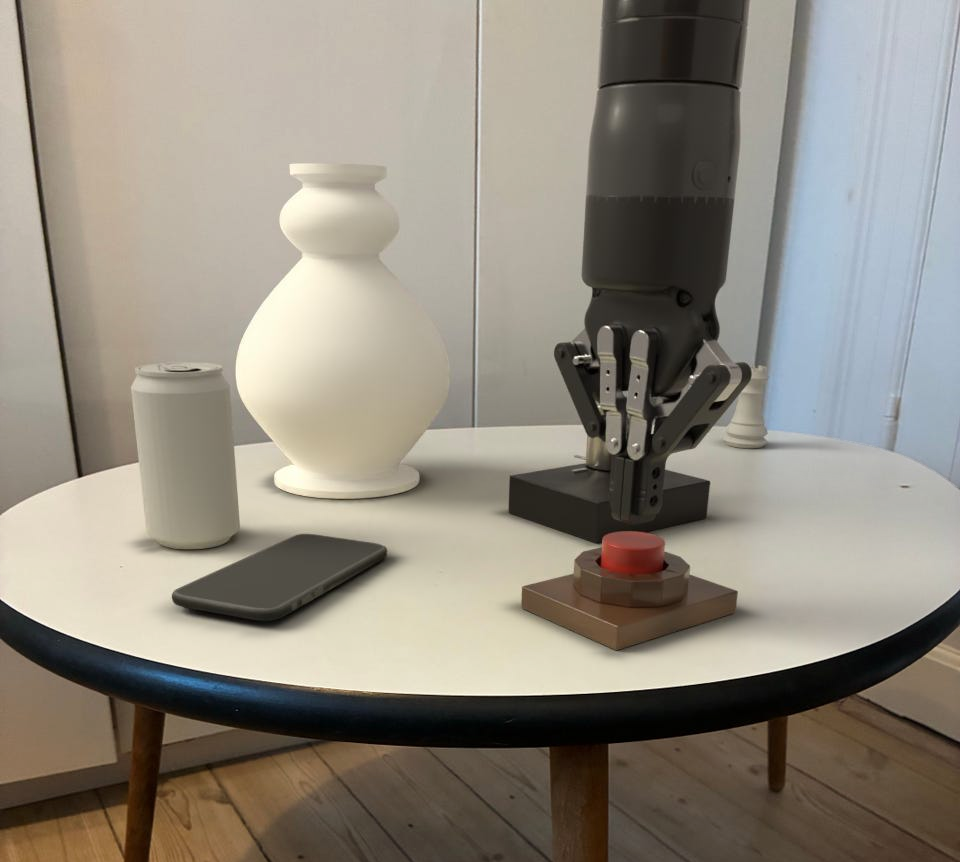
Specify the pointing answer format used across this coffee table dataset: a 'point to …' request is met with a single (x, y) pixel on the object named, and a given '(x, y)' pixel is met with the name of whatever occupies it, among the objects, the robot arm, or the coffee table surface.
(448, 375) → the decorative vase
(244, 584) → the smartphone
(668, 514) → the black flat square block
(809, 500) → the coffee table surface
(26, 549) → the coffee table surface
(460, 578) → the coffee table surface
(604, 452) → the hob knob
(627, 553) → the button
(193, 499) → the beverage can
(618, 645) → the button block
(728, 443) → the rook chess piece
